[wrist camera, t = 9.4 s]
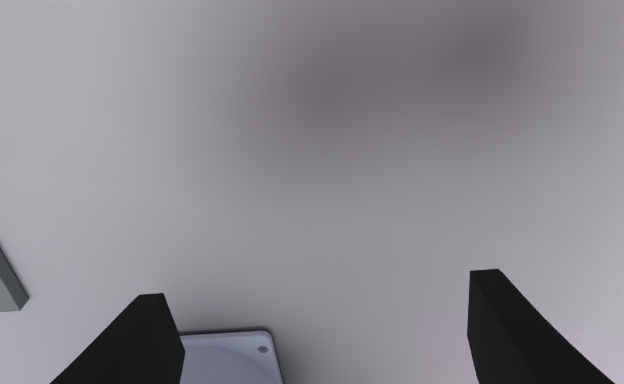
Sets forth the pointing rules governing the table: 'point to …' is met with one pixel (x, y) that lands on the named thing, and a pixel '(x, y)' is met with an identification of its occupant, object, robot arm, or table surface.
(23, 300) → the slate mat
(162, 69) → the table surface
